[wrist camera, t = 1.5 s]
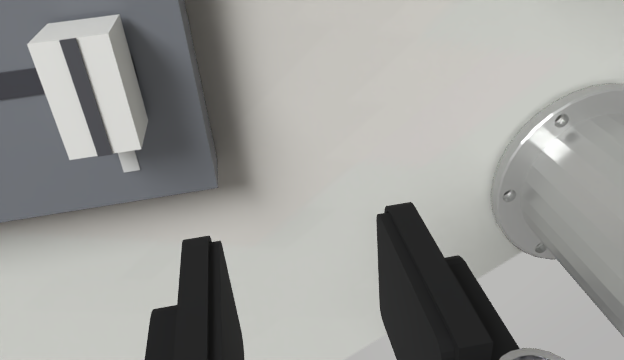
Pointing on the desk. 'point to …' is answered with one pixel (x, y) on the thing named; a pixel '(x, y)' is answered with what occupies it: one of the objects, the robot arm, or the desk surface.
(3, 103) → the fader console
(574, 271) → the robot arm
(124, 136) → the fader
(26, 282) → the desk surface
